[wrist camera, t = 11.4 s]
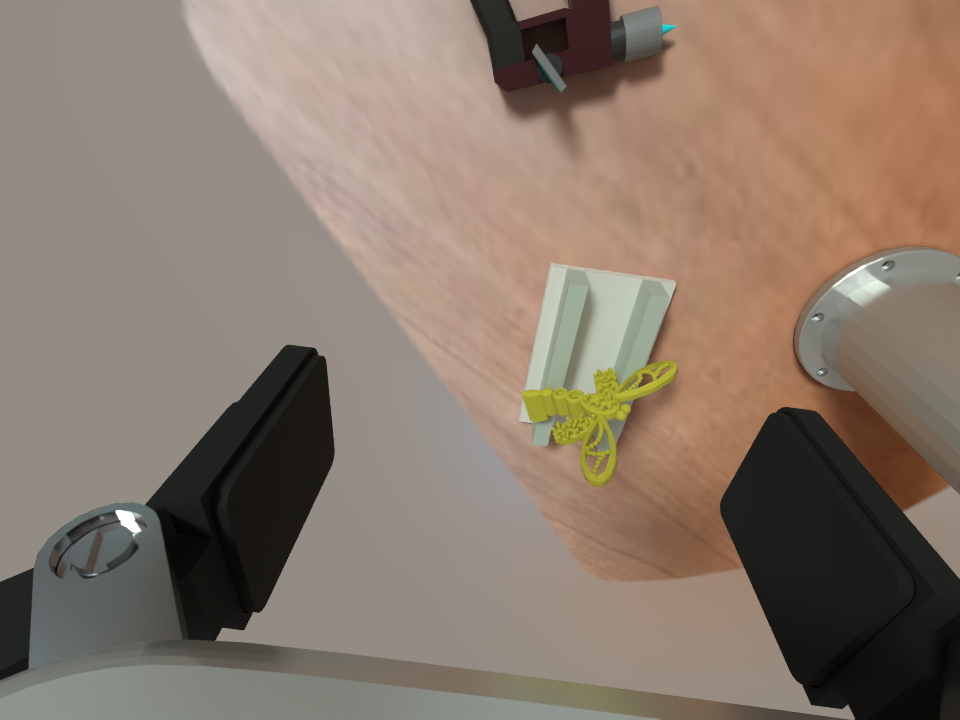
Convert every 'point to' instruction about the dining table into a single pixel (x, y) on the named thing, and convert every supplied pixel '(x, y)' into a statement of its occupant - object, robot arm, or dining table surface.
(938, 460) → the robot arm
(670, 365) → the decorative insect
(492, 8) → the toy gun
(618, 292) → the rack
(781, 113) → the dining table surface
